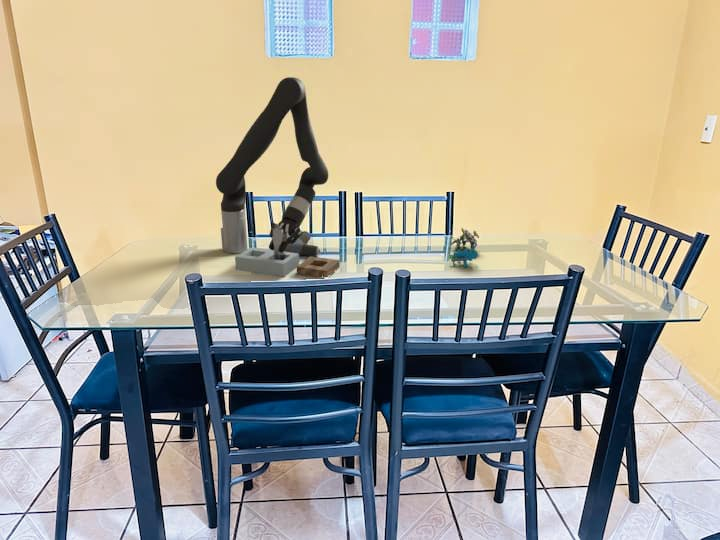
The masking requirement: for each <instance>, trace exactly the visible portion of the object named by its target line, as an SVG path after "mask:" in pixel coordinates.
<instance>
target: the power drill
mask: <svg viewBox="0 0 720 540" xmlns="http://www.w3.org/2000/svg"><path fill="white" fill-rule="evenodd" d="M302 232H303V233H302V235H301V236H300V237H299V238H298V239H297V240H296V241H295V242H294V244H288V245H287V247H286V249H285V252H291V253H298V254H299V257H300V256H301V257H302V256H303V257H306V256H307V257H308V256H309V257H310V256H312V257H317V256H318V255H320V254H321V252H322V250H321V249H320V248H319V246H317V245H311V244H308V243H309V242H310V241H311V234H310V233H309V232H308V231H306V230H304V231H302ZM293 239H294V238H293ZM293 239H292V240H293ZM306 243H307V244H306Z"/></svg>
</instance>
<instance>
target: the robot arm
mask: <svg viewBox="0 0 720 540" xmlns="http://www.w3.org/2000/svg"><path fill="white" fill-rule="evenodd" d="M306 91H307V90H306V86H305V84H304V83H303V81H302V80H301V79H300V78H298V77H293V76H292V77H291V76H290V77H288V76H287V77H285V78H283V79H281V80H280V81H279V82H278V84H277V86H276V88H275V90H274V92H273V94H272V96H271V98H270V99H269V101H268V102H267V103H268V104H267V105H266V106H265V108H264V109H263V111H261V112H260V114H259V116H258V117H257V118H256V120H255V121H254V122H253V124H252V125H251V126H250V128H249V130H247V132H246V134H245V135H244V137H243V139H242V140H241V142H240V144H239V145H238V147H237V149H236V150H235V152H234V154H233V156H232V157H231V158H230V160H229V162H227V164H225V166H224V167H223V169H222V170H220V172H219V173H218V174H217V176H216V179H215V185H216V189H217V191H219V192H220V194H223V195H222V199H221V202H220V211H221V213H220V214H221V222H222V223H221V224H222V227H220V235H221V236H220V237H221V238H220V239H221V248H222V250H221V251H223V252H225V253H227V254H241V253H243V252H244V251H246V250H248V249H249V248H248V235H247V221H246V206H245V205H246V202H247V201H246V199H247V198H246V197H247V195H246V179H245V176H246V174H247V172H248V171H249V169H250V168H251V167H252V166H253V165H254V164H255V163H256V162H258V160H259V159H260V158H261V157H262V156H263V155H264V154H265V152H267V150H268V149H269V147H270V145H271V144H272V143H273V142H274V140H275V139H276V136H277V134H278V132H279V129H280V128H281V127H280V126H281V124H282V122H283V120H284V119H285V117H286V116H287V115H288V113H289V112H291V116H292V121H293V125H294V126H293V127H294V135H295V141H296V144H297V149H298V151H299V156H300V159H301V160H302V161H303V162H306V163H307V164H308V165H309V167H306V168H305V169H304V170H303V172H302V174H301V176H300V180H299V183H298V188H297V189H296V191H295V193H294V195H293V196H292V198H291V199H290V201H289V202H288V205H287V207H286V209H284V210H285V211H284V212H283V214H282V216H281V220H280V221H279V223H275V222H272V223H271V228H270V232H269V237H270V238H271V241H270V243H269V245H268V249H269V250H274V248H273V229H274V228H283V229H284V240H283V241H284V242H283V241H282V243H281V245H280V247H279V248H278V251H279V252H280V253H283V252H284V251H285V249H286V247H287V245H288V244H294V242H295V241H296V240H297V239H298V238H299V237H300V236H301V235H302V233H303V231H302V230H301V229H300V228H299V227H300V226H301V225H302V223H303V222H304V219H305V218H306V216H307V214H308V212H309V209H310V207H311V204H312V203H313V201H314V200H315V197H316V190H314V187H315V186H320V185H324V184H326V183H327V182H328V179H329V170H328V168H327V165H326V163H325V162H324V160H323V158H322V156H321V155H320V153H319V152H320V151H319V148H318V145H317V142H316V137H315V134H314V131H313V127H312V124H311V119H310V114H309V108H308V102H307V94H306V93H307V92H306ZM293 238H294V239H293ZM292 239H293V240H292Z"/></svg>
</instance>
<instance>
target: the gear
mask: <svg viewBox="0 0 720 540" xmlns="http://www.w3.org/2000/svg"><path fill="white" fill-rule="evenodd" d="M477 257H479V253H478V251H477V250H476V251H473V250H472V249H471V248H470V249H469V250H468V249H467V248H465V249H462V250H461V249H459V250H457V251H454V252H453V253H452V254H448V258H449V260H450V261H451V262H452V267H456V265H455V262H457V263H460V262H463V265H464V269H465V268H466V269H467V268H468V261H469V262H472V261H473V260H477Z"/></svg>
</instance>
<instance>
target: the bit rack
mask: <svg viewBox="0 0 720 540" xmlns="http://www.w3.org/2000/svg"><path fill="white" fill-rule="evenodd" d="M234 260H235V261H234V263H235V270H236V271H237V270H238V271H243V272H244V271H245V272H249V273H250V272H251V273H257V274H261V275H263V274H264V275H269V276H274V277H275V276H276V277H283V278H285V277H286V276H288V275H290V274H291V273H292V272H293V271H294V270H297V266H298V265H299V264H300V256H299V254H298V253H291V252H285V259H284V260H276V259H274V250H270V249H269V248H268V249H267V248H260V247H253V246H252V247H250V248H248V250H246V251H244V252H242V253H238V254H237V255H236V256H234Z"/></svg>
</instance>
